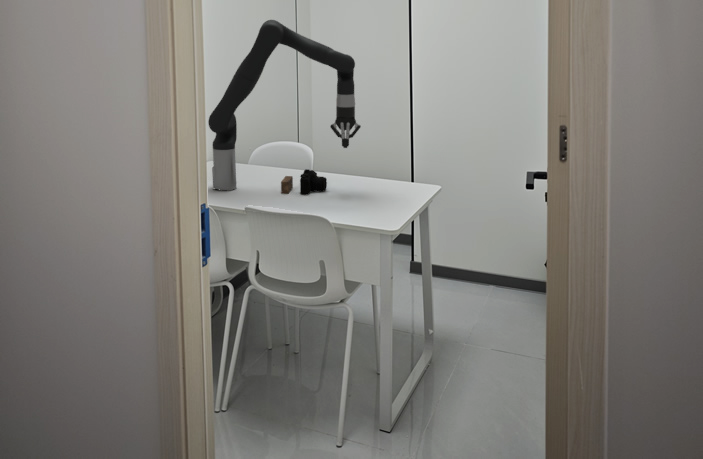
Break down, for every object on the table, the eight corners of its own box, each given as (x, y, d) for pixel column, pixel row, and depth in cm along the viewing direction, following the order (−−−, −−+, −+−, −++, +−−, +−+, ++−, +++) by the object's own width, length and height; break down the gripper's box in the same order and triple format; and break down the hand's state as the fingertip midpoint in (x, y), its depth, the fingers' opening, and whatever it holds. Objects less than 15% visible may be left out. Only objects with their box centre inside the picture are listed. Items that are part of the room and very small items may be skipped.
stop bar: (281, 193, 304) (281, 181, 303) (285, 187, 315) (285, 176, 313) (288, 193, 304) (288, 181, 303) (292, 187, 315) (292, 176, 313)
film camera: (320, 196, 301) (320, 174, 299) (297, 195, 303) (297, 173, 300) (329, 188, 315) (329, 167, 313) (307, 186, 317) (307, 166, 315)
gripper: (328, 106, 295) (328, 148, 300) (361, 106, 294) (360, 149, 299) (330, 103, 302) (330, 145, 307) (362, 104, 301) (362, 146, 306)
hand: (345, 147), depth 303 cm, fingers closed
